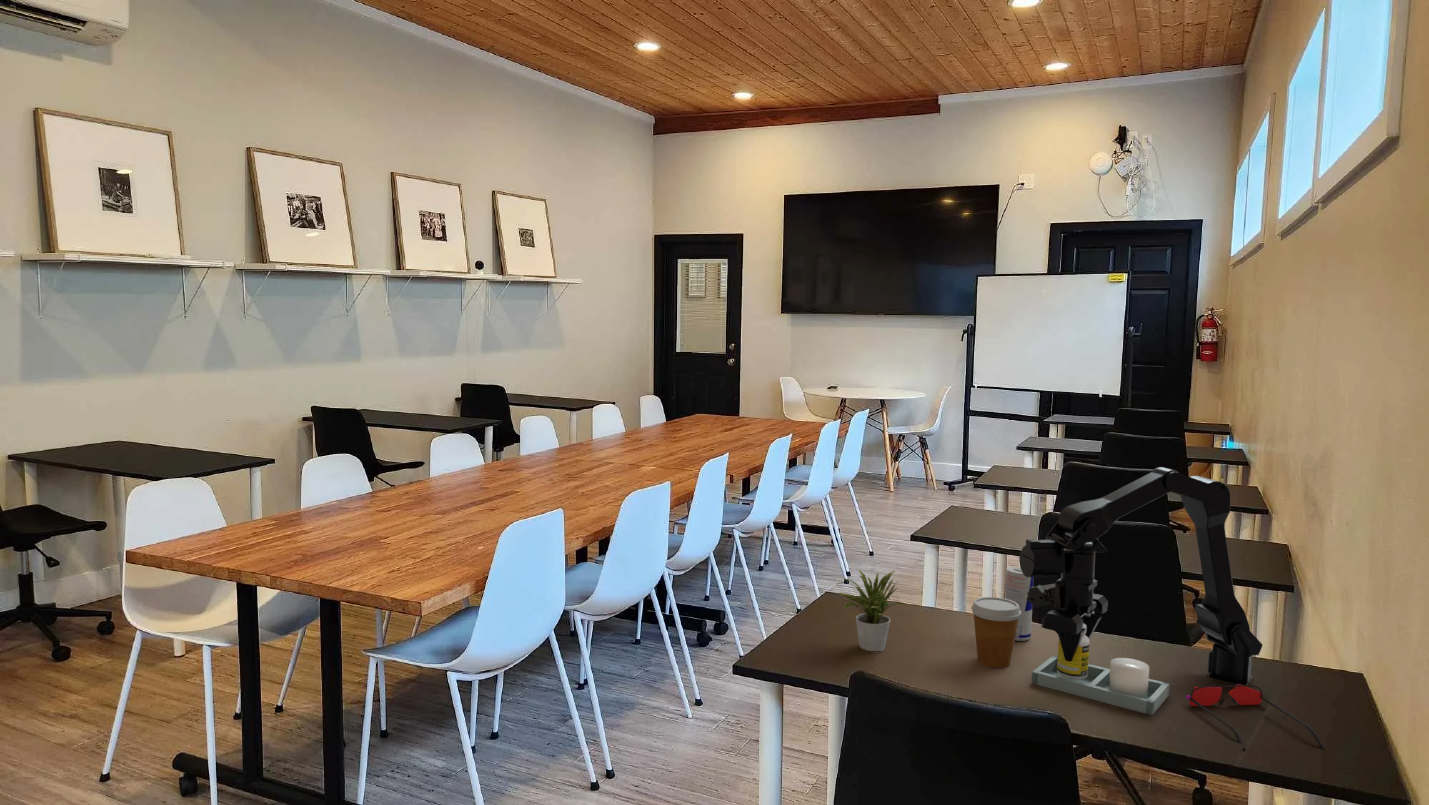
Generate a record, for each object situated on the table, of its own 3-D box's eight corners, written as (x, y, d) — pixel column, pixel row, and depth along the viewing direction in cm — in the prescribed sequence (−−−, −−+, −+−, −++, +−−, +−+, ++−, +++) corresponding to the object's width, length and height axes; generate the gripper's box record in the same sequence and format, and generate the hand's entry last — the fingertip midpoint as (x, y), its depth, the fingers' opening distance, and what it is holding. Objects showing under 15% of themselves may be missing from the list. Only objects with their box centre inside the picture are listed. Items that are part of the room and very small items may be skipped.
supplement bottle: (1084, 683, 171) (1087, 631, 170) (1054, 676, 174) (1056, 625, 173) (1090, 673, 176) (1092, 622, 175) (1060, 667, 179) (1062, 617, 178)
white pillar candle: (1151, 696, 169) (1153, 663, 168) (1141, 707, 164) (1143, 674, 164) (1114, 686, 173) (1116, 655, 173) (1103, 697, 168) (1105, 665, 168)
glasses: (1258, 708, 167) (1260, 681, 167) (1326, 752, 151) (1328, 722, 150) (1184, 710, 166) (1185, 683, 166) (1243, 754, 150) (1246, 724, 149)
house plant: (858, 629, 205) (860, 556, 203) (917, 643, 197) (920, 567, 195) (826, 647, 193) (828, 570, 192) (887, 663, 185) (890, 582, 184)
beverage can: (1032, 643, 198) (1035, 574, 196) (1004, 641, 199) (1007, 572, 197) (1029, 634, 203) (1032, 566, 202) (1002, 632, 204) (1005, 565, 203)
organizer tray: (1168, 699, 169) (1169, 683, 169) (1151, 719, 161) (1152, 702, 161) (1052, 670, 183) (1053, 655, 182) (1031, 687, 174) (1032, 671, 174)
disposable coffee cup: (966, 666, 184) (968, 607, 183) (972, 650, 193) (974, 594, 192) (1016, 674, 181) (1019, 613, 179) (1020, 657, 189) (1023, 600, 188)
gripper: (1052, 557, 185) (1048, 633, 187) (1015, 577, 171) (1012, 660, 172) (1110, 567, 178) (1106, 647, 180) (1077, 589, 164) (1073, 675, 165)
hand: (1073, 656), depth 174 cm, fingers closed on supplement bottle, 5 cm apart
